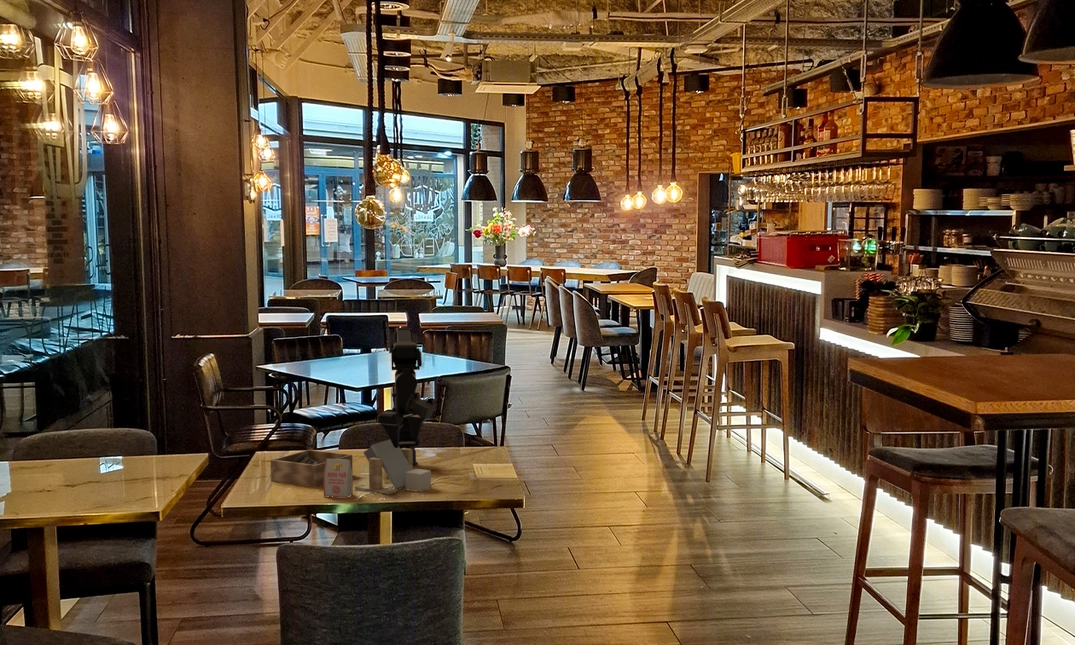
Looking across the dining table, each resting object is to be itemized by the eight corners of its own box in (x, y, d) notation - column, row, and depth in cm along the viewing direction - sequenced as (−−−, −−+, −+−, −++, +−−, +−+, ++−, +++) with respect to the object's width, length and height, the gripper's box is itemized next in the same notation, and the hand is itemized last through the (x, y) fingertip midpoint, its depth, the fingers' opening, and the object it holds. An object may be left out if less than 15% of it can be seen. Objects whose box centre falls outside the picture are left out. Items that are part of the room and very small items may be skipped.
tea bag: (329, 493, 254) (328, 457, 253) (352, 494, 252) (352, 458, 252) (323, 497, 250) (323, 460, 249) (347, 498, 249) (346, 461, 248)
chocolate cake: (291, 485, 265) (318, 452, 270) (274, 475, 268) (301, 443, 273) (304, 501, 272) (331, 468, 277) (288, 491, 276) (314, 459, 281)
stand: (355, 489, 258) (354, 457, 257) (392, 476, 273) (392, 446, 273) (390, 494, 252) (390, 461, 252) (426, 480, 268) (426, 450, 267)
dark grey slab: (362, 452, 260) (373, 444, 259) (383, 446, 269) (394, 438, 267) (387, 496, 257) (398, 487, 256) (407, 488, 266) (418, 480, 265)
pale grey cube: (405, 472, 257) (420, 474, 255) (415, 468, 262) (430, 470, 260) (405, 490, 258) (420, 492, 255) (416, 486, 262) (430, 488, 260)
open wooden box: (271, 480, 268) (270, 460, 268) (309, 469, 283) (308, 449, 282) (315, 486, 261) (315, 465, 260) (352, 474, 275) (352, 454, 275)
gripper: (410, 395, 247) (410, 453, 248) (448, 386, 263) (448, 441, 264) (376, 392, 252) (376, 449, 253) (415, 384, 268) (415, 438, 269)
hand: (405, 444), depth 260 cm, fingers open, 9 cm apart
